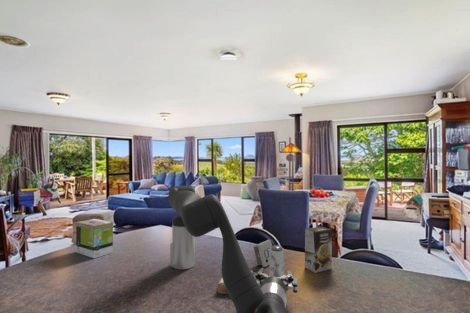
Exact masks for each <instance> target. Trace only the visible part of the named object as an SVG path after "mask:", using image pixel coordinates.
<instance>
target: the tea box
mask: <svg viewBox="0 0 470 313" xmlns="http://www.w3.org/2000/svg"><path fill="white" fill-rule="evenodd" d="M75 223H76V224H75V228H76V229H75V230H76V231H75V233H76V234H75V235H76V239H75V248H76V249H75V252H76V253H77V254H80V255H83V256H85V257H89V258H91V259H96V258H97V259H98V258H100V257H104V256H106V255H110V254H113V252H114V222H113V221H109V220H104V219H101V218H92V219H91V218H90V219H85V220H81V221H76V222H75Z"/></svg>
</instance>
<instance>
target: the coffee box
mask: <svg viewBox="0 0 470 313" xmlns="http://www.w3.org/2000/svg"><path fill="white" fill-rule="evenodd" d="M304 232H305V233H304V234H305V235H304V243H305V244H304V268H305V269H307V270H308V271H311V272H312V273H315V274H317V273H320V272H325V271H328V270H332V267H333V266H332V260H333V255H332V254H333V251H332V250H333V249H332V248H333V247H332V246H333V245H332V244H333V243H332V242H333V236H332V235H333V229H331V228H327V227H325V226H324V227H323V226H315V227H308V228H305V231H304Z"/></svg>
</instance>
